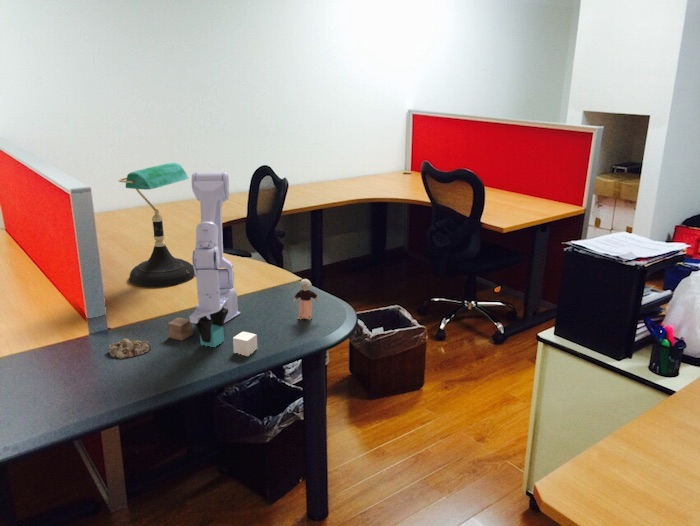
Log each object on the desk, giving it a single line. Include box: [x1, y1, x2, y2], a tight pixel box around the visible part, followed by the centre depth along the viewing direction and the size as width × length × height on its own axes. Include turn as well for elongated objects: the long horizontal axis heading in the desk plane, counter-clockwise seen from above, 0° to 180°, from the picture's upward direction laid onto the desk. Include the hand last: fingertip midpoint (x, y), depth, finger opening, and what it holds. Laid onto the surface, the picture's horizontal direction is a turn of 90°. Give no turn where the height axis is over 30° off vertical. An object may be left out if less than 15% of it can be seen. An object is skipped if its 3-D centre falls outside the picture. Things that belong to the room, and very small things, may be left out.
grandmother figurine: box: [292, 278, 320, 321], centre depth 176 cm, size 8×4×13 cm, turn 99°
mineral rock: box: [108, 338, 152, 360], centre depth 156 cm, size 11×4×8 cm
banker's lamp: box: [118, 162, 195, 288], centre depth 208 cm, size 26×23×40 cm
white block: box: [232, 331, 258, 357], centre depth 156 cm, size 4×4×4 cm
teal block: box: [199, 324, 225, 348], centre depth 161 cm, size 4×4×4 cm
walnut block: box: [167, 317, 193, 341], centre depth 165 cm, size 4×4×4 cm
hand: (212, 337), depth 161 cm, fingers closed on teal block, 4 cm apart
